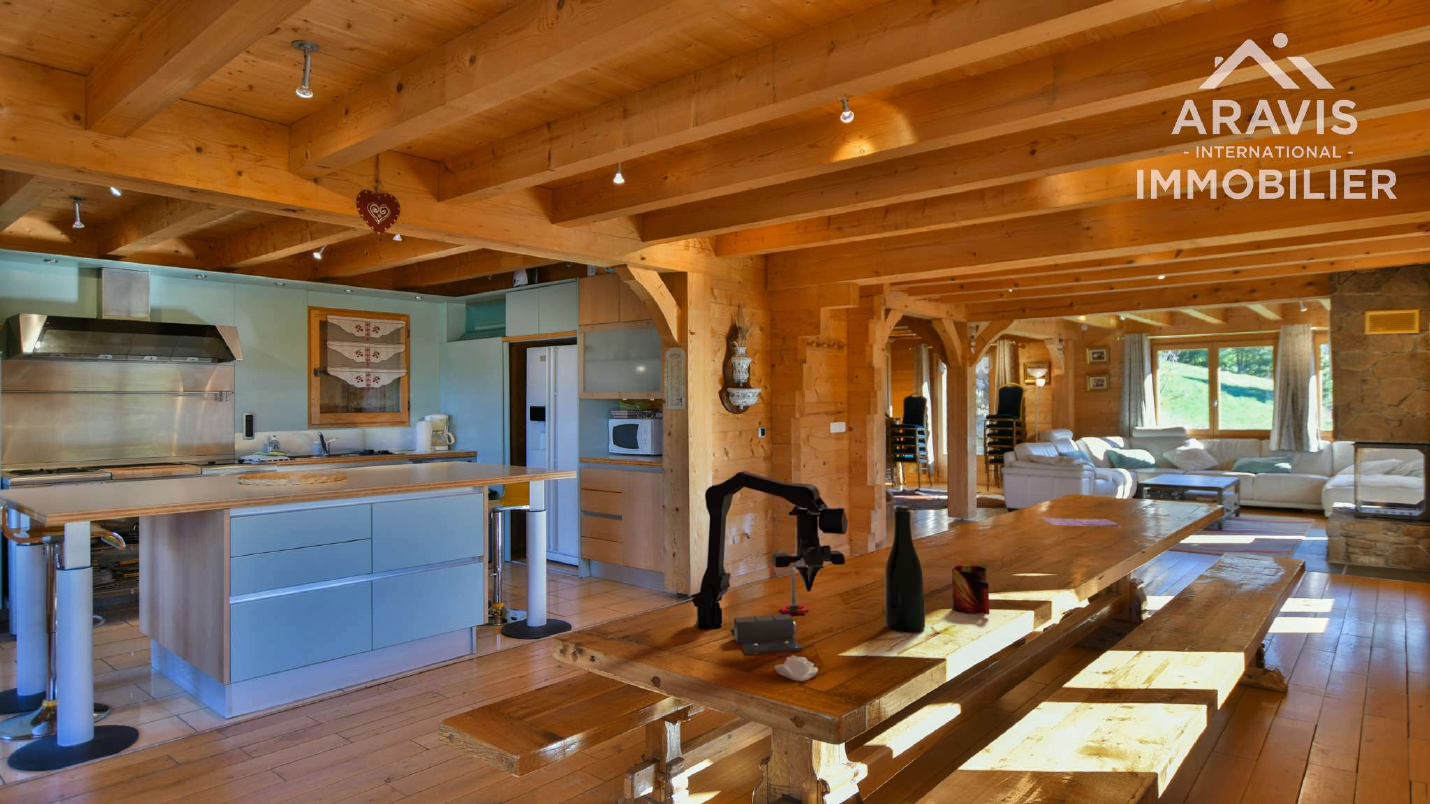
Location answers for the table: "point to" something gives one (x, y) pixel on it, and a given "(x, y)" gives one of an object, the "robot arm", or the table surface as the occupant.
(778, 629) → the hinge
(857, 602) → the table surface
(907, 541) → the beer bottle
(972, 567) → the mug
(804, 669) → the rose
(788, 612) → the tow hook
